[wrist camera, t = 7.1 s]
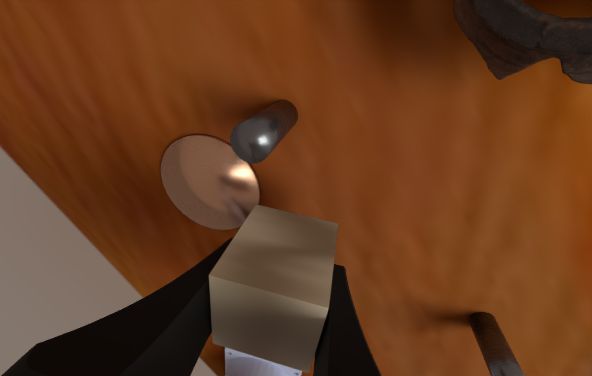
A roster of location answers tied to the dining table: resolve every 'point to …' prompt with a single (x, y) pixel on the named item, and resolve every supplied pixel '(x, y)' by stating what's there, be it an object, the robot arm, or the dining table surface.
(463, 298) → the dining table surface
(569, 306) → the dining table surface
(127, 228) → the dining table surface
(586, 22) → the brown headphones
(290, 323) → the block
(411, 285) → the dining table surface
